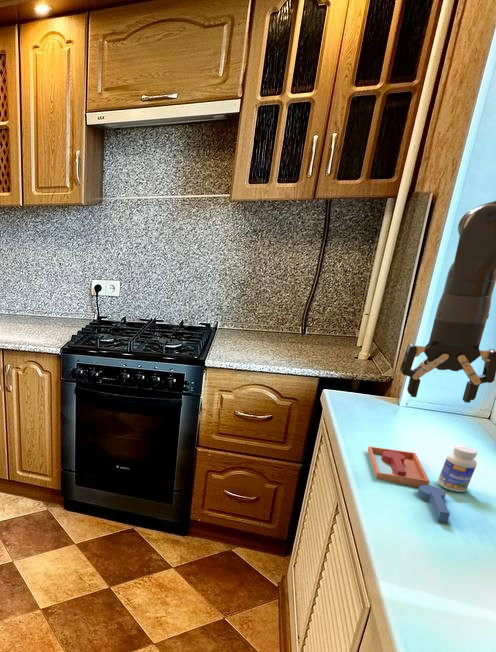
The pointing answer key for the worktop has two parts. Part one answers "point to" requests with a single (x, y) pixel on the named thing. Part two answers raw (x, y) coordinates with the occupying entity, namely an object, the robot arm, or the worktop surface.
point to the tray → (411, 465)
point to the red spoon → (395, 462)
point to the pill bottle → (458, 469)
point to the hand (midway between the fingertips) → (438, 398)
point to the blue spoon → (435, 501)
